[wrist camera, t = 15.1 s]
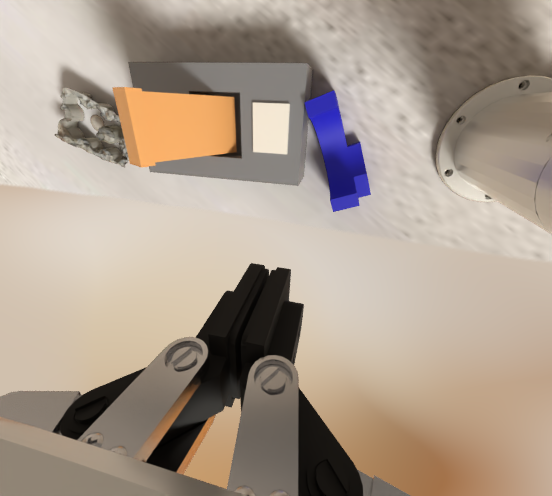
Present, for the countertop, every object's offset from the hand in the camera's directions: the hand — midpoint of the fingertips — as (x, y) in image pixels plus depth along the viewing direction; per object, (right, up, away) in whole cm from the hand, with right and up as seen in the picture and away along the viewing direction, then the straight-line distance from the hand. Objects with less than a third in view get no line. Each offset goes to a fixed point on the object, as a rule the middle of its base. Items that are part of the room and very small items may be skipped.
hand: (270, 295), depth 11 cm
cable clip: (+9, +15, +22) cm, 28 cm away
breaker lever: (-5, +17, +21) cm, 27 cm away
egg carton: (-25, +20, +28) cm, 42 cm away
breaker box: (-6, +18, +23) cm, 30 cm away
